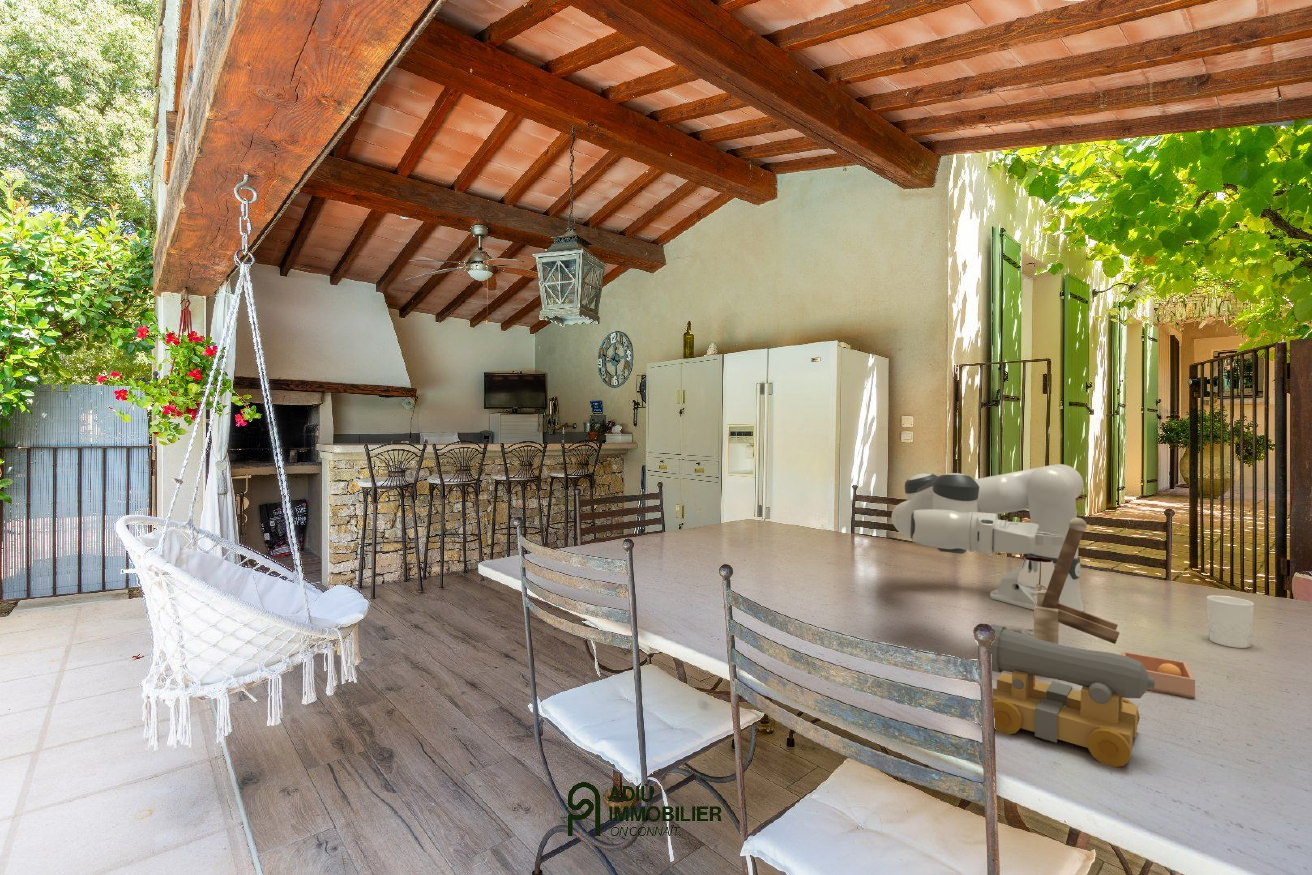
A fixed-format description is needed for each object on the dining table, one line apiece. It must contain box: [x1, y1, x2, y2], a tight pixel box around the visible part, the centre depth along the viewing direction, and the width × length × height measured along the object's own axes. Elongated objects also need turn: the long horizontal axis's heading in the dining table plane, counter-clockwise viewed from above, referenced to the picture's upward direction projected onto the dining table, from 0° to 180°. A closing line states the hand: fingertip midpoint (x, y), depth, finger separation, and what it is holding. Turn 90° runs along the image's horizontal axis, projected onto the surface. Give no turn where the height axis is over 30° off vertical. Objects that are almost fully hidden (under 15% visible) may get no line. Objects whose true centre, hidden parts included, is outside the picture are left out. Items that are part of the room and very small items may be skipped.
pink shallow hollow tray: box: [1120, 650, 1196, 700], centre depth 119 cm, size 10×10×4 cm
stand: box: [1033, 591, 1060, 644], centre depth 129 cm, size 9×17×13 cm, turn 146°
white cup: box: [1206, 595, 1255, 649], centre depth 141 cm, size 8×8×10 cm
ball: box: [1157, 663, 1182, 676], centre depth 117 cm, size 4×4×4 cm
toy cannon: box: [990, 623, 1155, 768], centre depth 99 cm, size 16×22×15 cm
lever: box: [1041, 517, 1120, 645], centre depth 124 cm, size 14×12×22 cm
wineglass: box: [1018, 557, 1055, 638], centre depth 145 cm, size 8×8×18 cm
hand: (1063, 540), depth 127 cm, fingers closed, pressing on lever
